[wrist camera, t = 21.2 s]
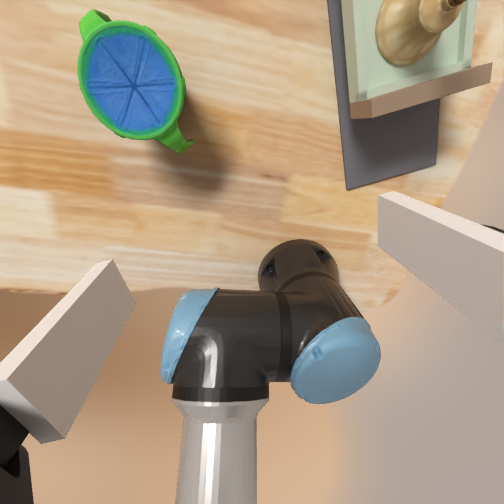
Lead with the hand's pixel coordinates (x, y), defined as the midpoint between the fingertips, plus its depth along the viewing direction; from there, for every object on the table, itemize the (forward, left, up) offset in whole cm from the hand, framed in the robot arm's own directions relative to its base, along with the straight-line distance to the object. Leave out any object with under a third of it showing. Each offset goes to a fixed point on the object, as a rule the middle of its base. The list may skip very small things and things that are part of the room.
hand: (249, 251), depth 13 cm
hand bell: (+10, -24, -26) cm, 37 cm away
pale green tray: (+11, -24, -31) cm, 41 cm away
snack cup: (+12, +8, -31) cm, 34 cm away
